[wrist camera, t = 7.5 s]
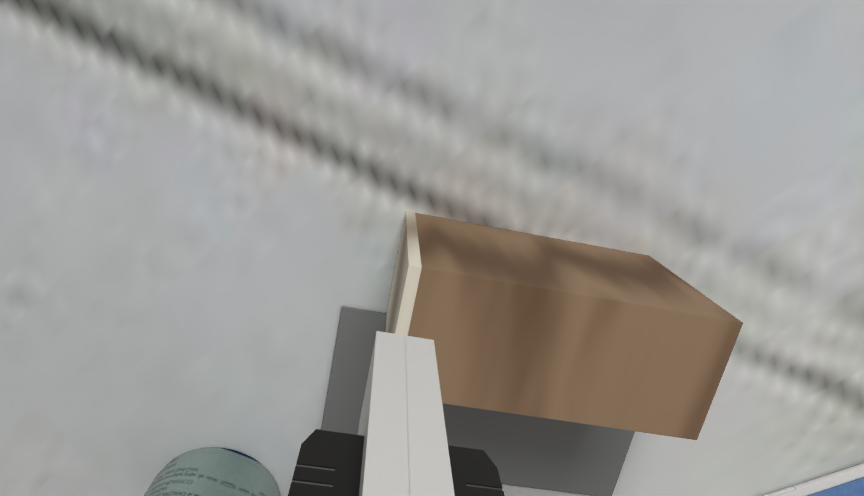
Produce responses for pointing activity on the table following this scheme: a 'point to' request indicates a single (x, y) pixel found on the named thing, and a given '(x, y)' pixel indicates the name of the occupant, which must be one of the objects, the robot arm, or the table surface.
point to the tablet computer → (829, 484)
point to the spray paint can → (214, 475)
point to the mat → (484, 425)
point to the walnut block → (559, 327)
